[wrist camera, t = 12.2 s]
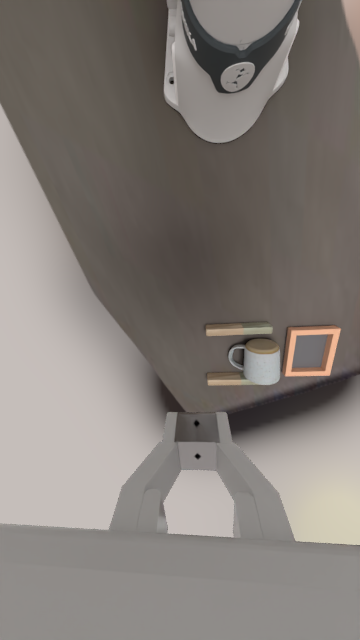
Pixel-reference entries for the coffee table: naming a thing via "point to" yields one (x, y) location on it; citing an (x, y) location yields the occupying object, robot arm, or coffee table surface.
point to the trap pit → (310, 350)
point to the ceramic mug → (259, 361)
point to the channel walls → (234, 329)
